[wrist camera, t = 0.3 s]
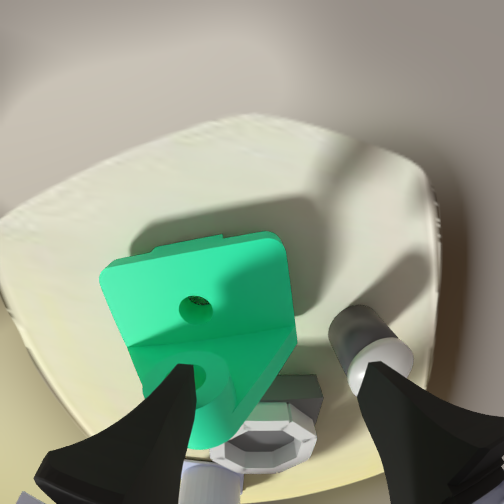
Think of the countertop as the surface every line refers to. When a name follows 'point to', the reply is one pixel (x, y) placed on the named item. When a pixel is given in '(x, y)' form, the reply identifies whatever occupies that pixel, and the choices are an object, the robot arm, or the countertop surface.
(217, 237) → the camera mount
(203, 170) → the countertop surface
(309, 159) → the countertop surface
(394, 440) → the robot arm
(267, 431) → the square octagon-collar plate
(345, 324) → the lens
